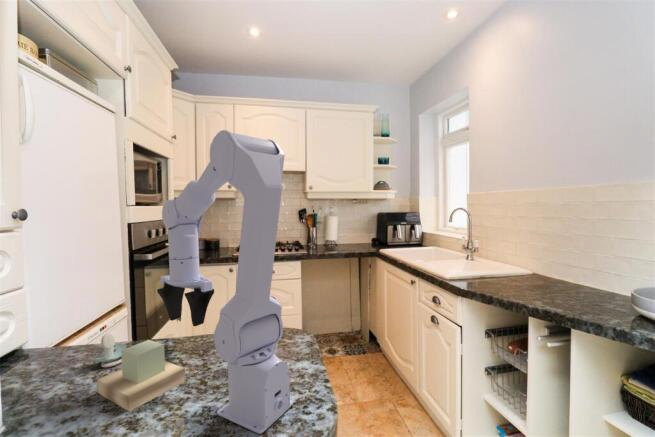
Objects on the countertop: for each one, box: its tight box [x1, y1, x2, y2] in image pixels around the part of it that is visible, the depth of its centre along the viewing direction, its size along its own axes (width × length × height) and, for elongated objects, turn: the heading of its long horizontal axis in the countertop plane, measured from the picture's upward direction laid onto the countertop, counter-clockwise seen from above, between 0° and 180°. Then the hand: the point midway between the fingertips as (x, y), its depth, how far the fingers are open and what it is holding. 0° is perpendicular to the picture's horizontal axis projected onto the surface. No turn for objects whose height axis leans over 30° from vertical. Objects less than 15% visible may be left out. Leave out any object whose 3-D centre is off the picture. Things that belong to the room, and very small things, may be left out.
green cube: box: [121, 339, 166, 384], centre depth 56 cm, size 5×5×5 cm
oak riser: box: [96, 360, 186, 412], centre depth 56 cm, size 11×10×3 cm
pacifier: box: [90, 332, 128, 368], centre depth 67 cm, size 7×6×6 cm
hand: (186, 321), depth 63 cm, fingers open, 7 cm apart
